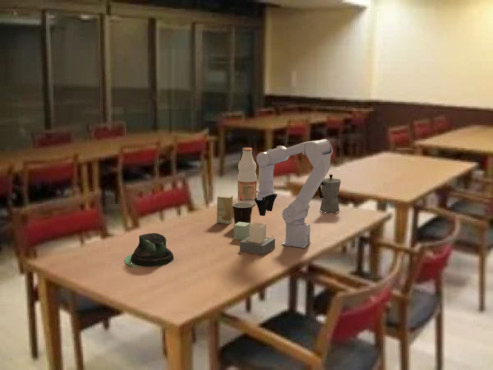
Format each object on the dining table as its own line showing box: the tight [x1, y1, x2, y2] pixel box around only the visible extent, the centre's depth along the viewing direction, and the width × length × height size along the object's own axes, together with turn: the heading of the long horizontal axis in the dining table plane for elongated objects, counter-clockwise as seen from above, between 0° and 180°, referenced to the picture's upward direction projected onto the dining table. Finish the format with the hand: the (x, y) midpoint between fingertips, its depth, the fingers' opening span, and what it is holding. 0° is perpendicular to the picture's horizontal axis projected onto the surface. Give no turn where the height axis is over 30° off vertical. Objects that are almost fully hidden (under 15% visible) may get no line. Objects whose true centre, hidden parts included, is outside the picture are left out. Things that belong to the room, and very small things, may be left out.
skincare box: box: [216, 194, 234, 225], centre depth 260 cm, size 6×4×12 cm
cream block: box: [249, 222, 267, 242], centre depth 226 cm, size 5×5×6 cm
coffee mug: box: [232, 202, 254, 225], centre depth 252 cm, size 12×9×10 cm
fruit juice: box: [237, 147, 258, 206], centre depth 290 cm, size 9×9×28 cm
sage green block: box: [233, 222, 251, 241], centre depth 240 cm, size 5×5×6 cm
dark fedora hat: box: [123, 232, 175, 269], centre depth 214 cm, size 20×20×9 cm
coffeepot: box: [317, 173, 342, 214], centre depth 278 cm, size 15×9×18 cm, turn 129°
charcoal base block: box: [239, 236, 276, 256], centre depth 227 cm, size 10×10×4 cm
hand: (265, 213), depth 240 cm, fingers open, 7 cm apart
